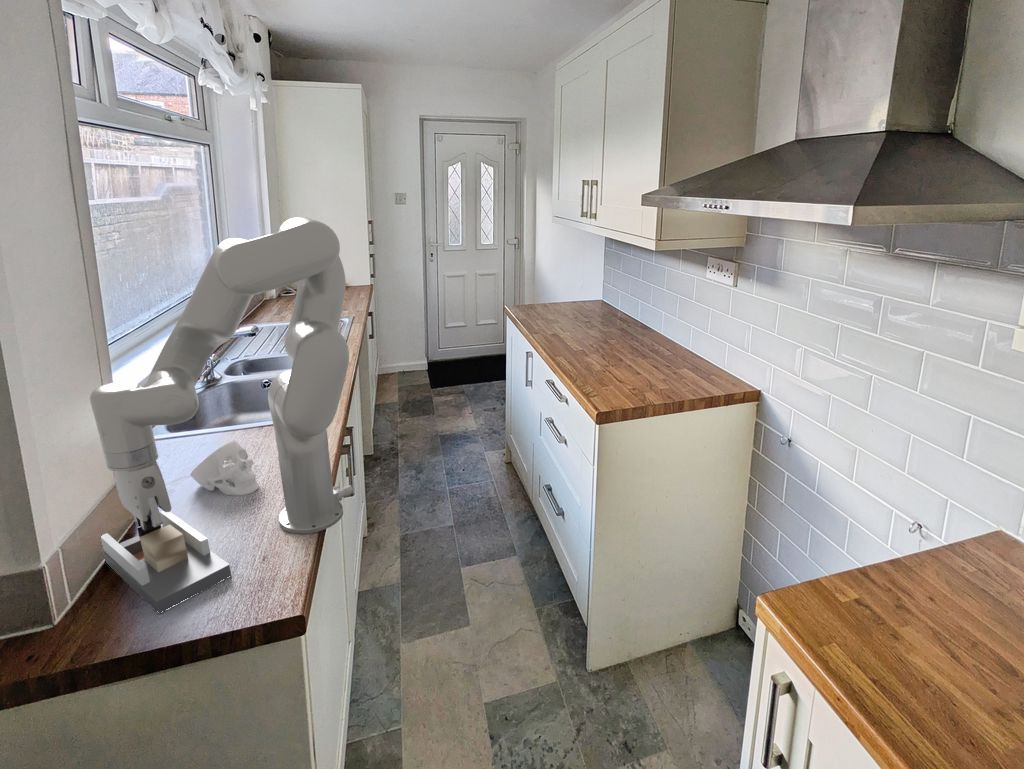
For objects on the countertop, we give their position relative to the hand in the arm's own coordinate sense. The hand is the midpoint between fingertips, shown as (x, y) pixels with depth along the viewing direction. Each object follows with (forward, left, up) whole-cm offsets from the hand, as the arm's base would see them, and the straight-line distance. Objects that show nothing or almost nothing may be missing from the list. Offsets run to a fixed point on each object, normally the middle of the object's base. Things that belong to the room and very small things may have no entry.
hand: (153, 544), depth 106 cm
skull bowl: (-22, -16, -4) cm, 28 cm away
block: (0, +5, -1) cm, 5 cm away
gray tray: (0, +4, -3) cm, 5 cm away
